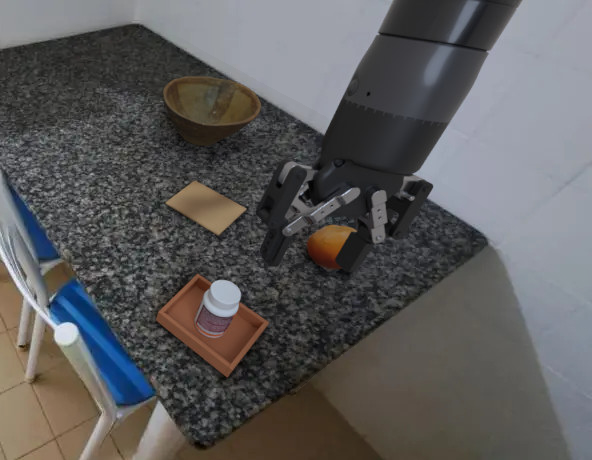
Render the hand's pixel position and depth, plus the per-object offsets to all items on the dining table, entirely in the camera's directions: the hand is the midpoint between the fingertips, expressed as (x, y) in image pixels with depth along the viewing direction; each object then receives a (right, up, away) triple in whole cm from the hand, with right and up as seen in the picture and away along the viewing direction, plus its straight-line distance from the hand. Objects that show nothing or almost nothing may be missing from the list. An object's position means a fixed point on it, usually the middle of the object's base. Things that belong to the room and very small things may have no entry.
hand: (306, 264), depth 40 cm
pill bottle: (-4, -11, +18) cm, 21 cm away
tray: (-4, -11, +18) cm, 22 cm away
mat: (+1, +8, +37) cm, 37 cm away
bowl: (+6, +26, +54) cm, 61 cm away
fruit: (+20, -2, +28) cm, 34 cm away
